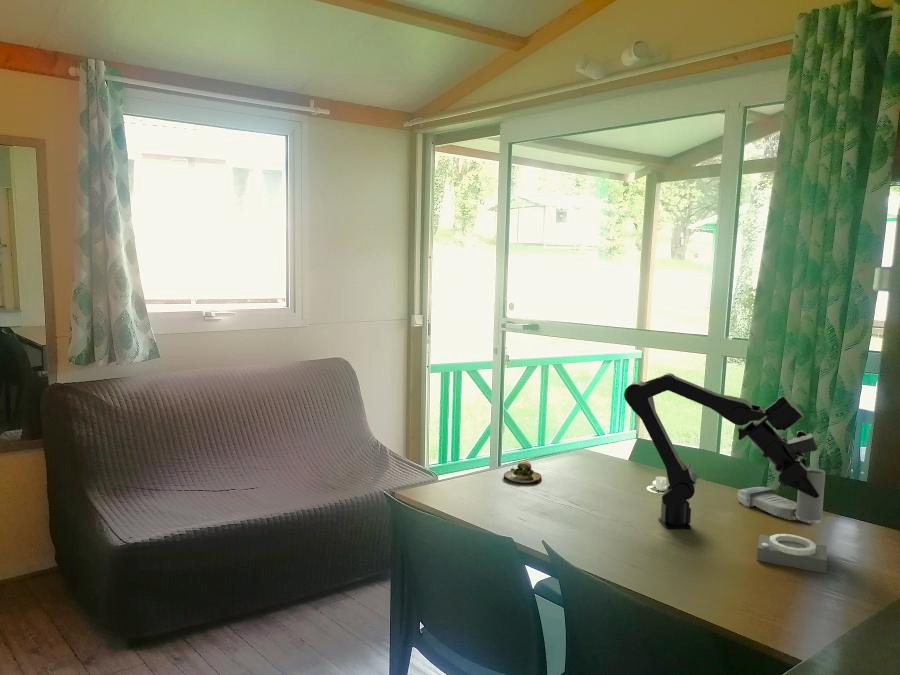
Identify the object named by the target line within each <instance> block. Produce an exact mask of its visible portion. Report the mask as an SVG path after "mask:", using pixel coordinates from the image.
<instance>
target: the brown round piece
mask: <svg viewBox="0 0 900 675" xmlns="http://www.w3.org/2000/svg"><path fill="white" fill-rule="evenodd" d="M526 457H527V455H526ZM516 467H517V468H515V467H512V468H510V470H509V471H506V472H504V474H503V478H506V479H508V480H510V481H512V482H516V483H522V484H523V483H525V484H526V483H527V484H528V483H533V482H537V484H536V485H539V484H540V483H542V480H543V478H542V475H541V473H538V472H536V471H534V470H533V469H532V464H531V462H529V461H528V460H527V459H525V460H523V461H520V462H518V463H517V465H516Z"/></svg>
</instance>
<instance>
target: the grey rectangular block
mask: <svg viewBox="0 0 900 675" xmlns="http://www.w3.org/2000/svg"><path fill="white" fill-rule="evenodd" d="M757 544H758V545H757V553H756V561H758V562H763V563H769V564H774V565H778V566H779V565H780V566H783V567H789V568H795V569H800V570H806V571H810V572H816V573H820V574H825V575H827V573H828V572H827V571H828V551H827V546H826V545H823V544H821V545H820V544H816V543H815V542H813V541H812V540H810V539H809V538H805V537H802V536H800V535H796V534H789V533H776V534H773V535H765V534H759V537H758V543H757Z"/></svg>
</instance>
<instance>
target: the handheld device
mask: <svg viewBox="0 0 900 675" xmlns="http://www.w3.org/2000/svg"><path fill="white" fill-rule="evenodd" d="M737 499H738V500H739V502H740V503H741V504H742V505H743V506H744V507H746V506H747V507H746V508H758V509H760V510H762V511H765V512H766V513H768V514H771V515H772V516H775V517H777V516H778V518H780V517H781V518H780V519H783V518H784V520H786V519H789V520H796V521H799V520H798V519H797V518H796V509H797V501H794V500H791V499H788V498H785V497H784V496H780V495H777V494H775V490H774V489H772V488H771V487H766V486H753V487H749V488H742V489H739V490H738V491H737ZM754 506H756V507H754ZM789 520H788V521H789Z"/></svg>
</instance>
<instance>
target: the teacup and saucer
mask: <svg viewBox="0 0 900 675" xmlns="http://www.w3.org/2000/svg"><path fill="white" fill-rule="evenodd" d="M667 481H668V477H665V476H656V477H655V480H653V481H652V485H649V486H647V487H646V490H647V491H648V492H651V493H654V494H660V495H663V494H664V492H665V490H666V487H667ZM650 488H651V489H650ZM652 488H656V490H657V491H654V490H652ZM658 490H659V491H658ZM658 492H659V493H658Z"/></svg>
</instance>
